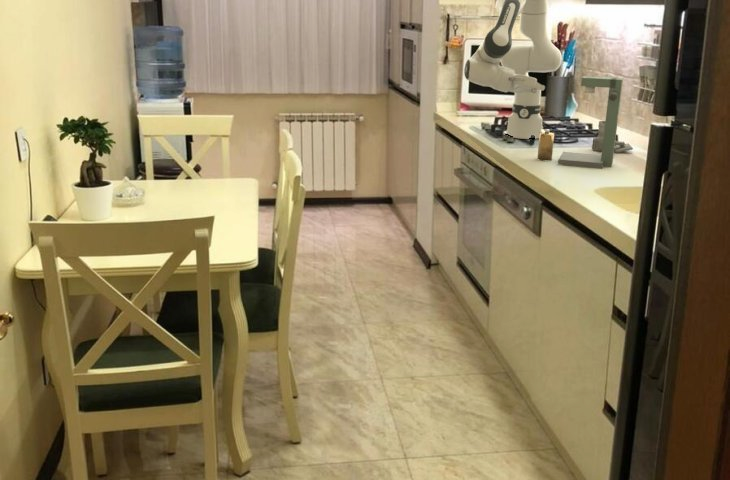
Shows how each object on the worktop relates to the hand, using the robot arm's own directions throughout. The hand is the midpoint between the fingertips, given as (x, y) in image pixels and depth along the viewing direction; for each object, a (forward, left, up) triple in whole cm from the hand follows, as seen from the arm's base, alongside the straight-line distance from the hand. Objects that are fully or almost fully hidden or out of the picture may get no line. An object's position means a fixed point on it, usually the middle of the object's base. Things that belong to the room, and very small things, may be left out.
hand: (540, 89), depth 285 cm
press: (+5, +20, -26) cm, 33 cm away
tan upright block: (+3, +4, -26) cm, 27 cm away
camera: (-23, +27, -26) cm, 45 cm away
